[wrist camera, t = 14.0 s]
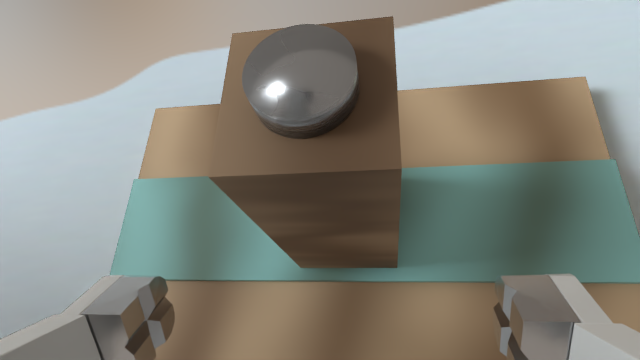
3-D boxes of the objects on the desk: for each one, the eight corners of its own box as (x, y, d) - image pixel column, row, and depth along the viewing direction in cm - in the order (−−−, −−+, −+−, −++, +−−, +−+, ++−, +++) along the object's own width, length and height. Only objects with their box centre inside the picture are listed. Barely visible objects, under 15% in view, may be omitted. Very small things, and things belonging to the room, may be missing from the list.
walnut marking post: (300, 268, 16) (190, 159, 7) (305, 181, 18) (219, 8, 9) (397, 267, 16) (402, 149, 7) (393, 178, 17) (393, -13, 8)
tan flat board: (98, 414, 17) (72, 419, 15) (166, 120, 23) (152, 105, 22) (678, 456, 13) (711, 467, 12) (574, 92, 19) (588, 72, 18)
